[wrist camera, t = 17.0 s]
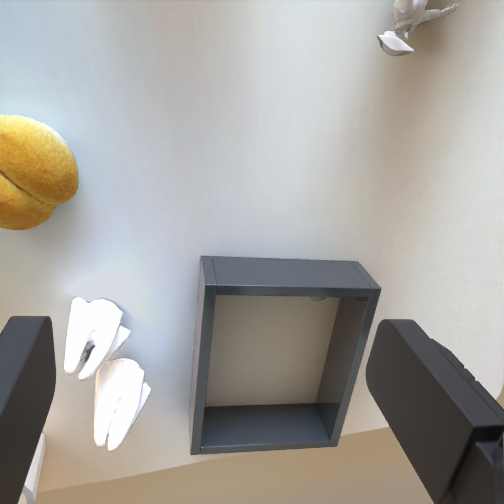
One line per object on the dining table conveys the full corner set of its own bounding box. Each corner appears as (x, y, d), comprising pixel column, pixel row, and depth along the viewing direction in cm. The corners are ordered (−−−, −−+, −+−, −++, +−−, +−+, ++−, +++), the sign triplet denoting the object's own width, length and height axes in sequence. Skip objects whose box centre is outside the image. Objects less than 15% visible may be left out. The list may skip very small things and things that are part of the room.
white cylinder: (-29, 427, 44) (-62, 489, 38) (38, 411, 45) (16, 470, 39) (-1, 470, 48) (-27, 534, 41) (61, 454, 48) (45, 515, 42)
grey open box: (188, 414, 49) (190, 455, 44) (201, 255, 40) (205, 284, 36) (321, 409, 52) (337, 446, 47) (358, 261, 44) (382, 288, 39)
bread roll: (100, 169, 36) (92, 183, 32) (23, 236, 37) (8, 256, 33) (16, 86, 32) (-3, 91, 28) (-66, 162, 33) (-94, 177, 30)
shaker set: (153, 380, 46) (149, 471, 36) (115, 391, 46) (99, 486, 36) (113, 287, 40) (95, 365, 30) (69, 299, 40) (36, 381, 30)
